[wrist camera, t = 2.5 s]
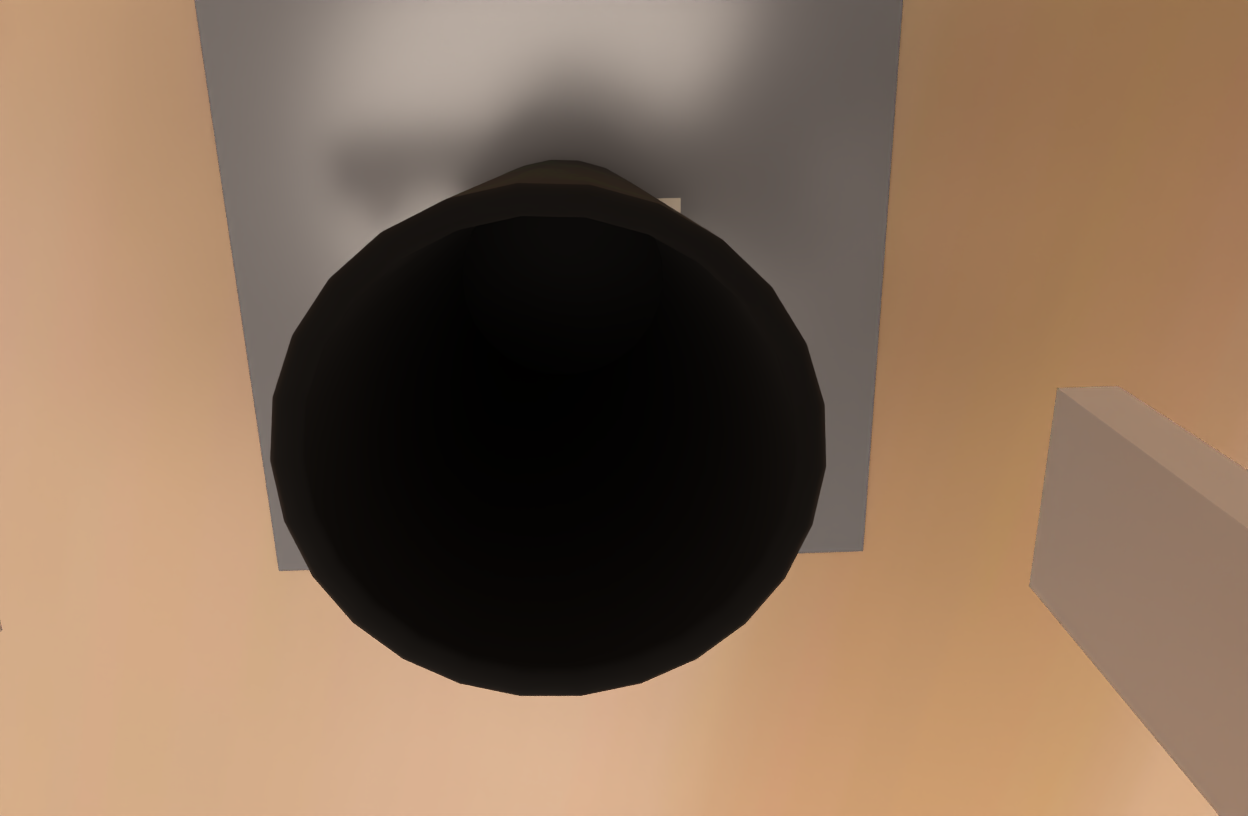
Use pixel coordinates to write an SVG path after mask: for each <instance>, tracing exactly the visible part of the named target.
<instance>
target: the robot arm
mask: <svg viewBox="0 0 1248 816" xmlns="http://www.w3.org/2000/svg"><path fill="white" fill-rule="evenodd" d="M1029 586H1030V588H1031V589H1032V590H1033V591H1034V592H1035V594H1036V595H1037V596H1038V597H1039V598H1040V600H1041V601H1042V602H1043V603H1044V604H1045V606H1046V607H1047V608H1048V609H1049V611H1050V612H1051V613H1052V614H1053V615H1054V617H1055V618H1056V619H1057V620H1058V621H1059V623H1060V624H1061V625H1062V626H1063V627H1064V629H1065V630H1066V631H1067V632H1068V633H1069V635H1070V636H1071V637H1072V638H1073V639H1074V641H1075V642H1076V643H1077V644H1078V646H1079V647H1080V648H1081V649H1082V650H1083V652H1084V653H1085V654H1086V655H1087V656H1088V658H1089V659H1090V660H1091V661H1092V662H1093V664H1094V665H1095V666H1096V667H1097V668H1098V670H1099V671H1100V672H1101V673H1102V675H1103V676H1104V677H1105V678H1106V679H1107V681H1108V682H1109V683H1110V684H1111V685H1112V687H1113V688H1114V689H1115V690H1116V691H1117V693H1118V694H1119V695H1120V696H1121V697H1122V699H1123V700H1124V701H1125V702H1126V703H1127V705H1128V706H1129V707H1130V708H1131V710H1132V711H1133V712H1134V713H1135V714H1136V716H1137V717H1138V718H1139V719H1140V720H1141V722H1142V723H1143V724H1144V725H1145V726H1146V728H1147V729H1148V730H1149V731H1150V732H1151V734H1152V735H1153V736H1154V737H1155V739H1156V740H1157V741H1158V742H1159V743H1160V745H1161V746H1162V747H1163V748H1164V749H1165V751H1166V752H1167V753H1168V754H1169V755H1170V757H1171V758H1172V759H1173V760H1174V761H1175V763H1176V764H1177V765H1178V766H1179V767H1180V769H1181V770H1182V771H1183V772H1184V774H1185V775H1186V776H1187V777H1188V778H1189V780H1190V781H1191V782H1192V783H1193V784H1194V786H1195V787H1196V788H1197V789H1198V790H1199V792H1200V793H1201V794H1202V795H1203V796H1204V798H1205V799H1206V800H1207V801H1208V803H1209V804H1210V805H1211V806H1212V807H1213V809H1214V810H1215V811H1216V812H1217V813H1218V815H1219V816H1248V470H1247V469H1245V468H1244V467H1242V466H1241V465H1239V464H1238V463H1236V462H1234V461H1233V460H1231V459H1230V458H1228V457H1227V456H1225V455H1224V454H1222V453H1221V452H1219V451H1218V450H1216V449H1215V448H1213V447H1211V446H1210V445H1208V444H1207V443H1205V442H1204V441H1202V440H1201V439H1199V438H1198V437H1196V436H1195V435H1193V434H1192V433H1190V432H1188V431H1187V430H1185V429H1184V428H1182V427H1181V426H1179V425H1178V424H1176V423H1175V422H1173V421H1172V420H1170V419H1169V418H1167V417H1166V416H1164V415H1162V414H1161V413H1159V412H1158V411H1156V410H1155V409H1153V408H1152V407H1150V406H1149V405H1147V404H1146V403H1144V402H1143V401H1141V400H1139V399H1138V398H1136V397H1135V396H1133V395H1132V394H1130V393H1129V392H1127V391H1126V390H1124V389H1123V388H1121V387H1120V386H1099V387H1069V388H1057V393H1056V400H1055V407H1054V414H1053V421H1052V428H1051V435H1050V443H1049V450H1048V457H1047V464H1046V471H1045V478H1044V485H1043V492H1042V499H1041V506H1040V513H1039V520H1038V528H1037V535H1036V542H1035V549H1034V556H1033V563H1032V570H1031V577H1030V584H1029ZM1 631H2V626H1V622H0V632H1Z"/></svg>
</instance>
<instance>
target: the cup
mask: <svg viewBox="0 0 1248 816" xmlns="http://www.w3.org/2000/svg"><path fill="white" fill-rule="evenodd" d="M270 462H271V467H272V471H273V475H274V480H275V484H276V488H277V493H278V497H279V502H280V506H281V510H282V515H283V519H284V522H285V524H286V526H287V528H288V530H289V532H290V534H291V536H292V538H293V540H294V541H295V543H296V545H297V547H298V549H299V551H300V553H301V555H302V557H303V559H304V561H305V563H306V565H307V567H308V568H309V570H310V572H311V574H312V576H313V577H314V578H315V580H316V581H317V582H318V583H319V584H320V585H321V586H322V588H323V589H324V590H325V591H326V592H327V593H328V594H329V596H330V597H331V598H332V599H333V600H334V601H335V602H336V604H337V605H338V606H339V607H340V608H341V609H342V610H343V612H344V613H345V614H346V615H347V616H348V617H349V619H350V620H351V621H352V622H353V623H354V624H356V625H357V626H358V627H360V628H361V629H363V630H364V631H365V632H367V633H368V634H370V635H371V636H372V637H374V638H375V639H376V640H378V641H379V642H381V643H382V644H383V645H385V646H386V647H388V648H389V649H390V650H392V651H393V652H394V653H396V654H397V655H399V656H400V657H401V658H403V659H405V660H407V661H409V662H412V663H414V664H416V665H419V666H421V667H423V668H425V669H428V670H430V671H432V672H435V673H437V674H439V675H442V676H444V677H446V678H448V679H451V680H453V681H455V682H458V683H460V684H465V685H470V686H475V687H480V688H485V689H489V690H494V691H499V692H504V693H509V694H514V695H519V696H582V695H587V694H592V693H597V692H602V691H606V690H611V689H616V688H621V687H626V686H630V685H635V684H640V683H643V682H645V681H647V680H650V679H652V678H654V677H657V676H659V675H661V674H663V673H666V672H668V671H670V670H673V669H675V668H677V667H679V666H682V665H684V664H686V663H689V662H691V661H693V660H695V659H697V658H699V657H700V656H701V655H703V654H704V653H705V652H707V651H708V650H710V649H711V648H712V647H714V646H715V645H717V644H718V643H719V642H721V641H722V640H723V639H725V638H726V637H728V636H729V635H730V634H732V633H733V632H734V631H736V630H737V629H739V628H740V627H741V626H743V625H744V624H745V623H746V622H747V621H748V620H749V619H750V618H751V616H752V615H753V614H754V613H755V612H756V611H757V610H758V608H759V607H760V606H761V605H762V604H763V603H764V602H765V600H766V599H767V598H768V597H769V596H770V595H771V594H772V592H773V591H774V590H775V589H776V588H777V587H778V586H779V584H780V583H781V582H782V581H783V580H784V579H785V577H786V575H787V573H788V571H789V569H790V567H791V565H792V563H793V562H794V560H795V558H796V556H797V554H798V552H799V550H800V548H801V546H802V544H803V542H804V540H805V538H806V537H807V535H808V533H809V531H810V529H811V527H812V525H813V521H814V516H815V512H816V508H817V504H818V499H819V495H820V491H821V487H822V482H823V478H824V474H825V470H826V434H825V404H824V400H823V397H822V394H821V390H820V387H819V383H818V380H817V377H816V373H815V370H814V366H813V363H812V360H811V356H810V353H809V350H808V346H807V343H806V342H805V340H804V338H803V337H802V335H801V333H800V332H799V330H798V328H797V327H796V325H795V324H794V322H793V320H792V319H791V317H790V315H789V314H788V312H787V310H786V309H785V307H784V305H783V304H782V302H781V301H780V299H779V297H778V296H777V294H776V292H775V291H774V289H773V287H772V286H771V285H770V284H769V283H767V282H766V281H765V280H764V279H763V278H762V277H761V276H760V275H759V274H758V273H757V272H756V271H755V270H754V269H753V268H752V267H751V266H750V265H749V264H748V263H747V262H746V261H745V260H744V259H743V258H741V257H740V256H739V255H738V254H737V253H736V252H735V251H734V250H733V249H732V248H731V247H730V246H729V245H728V244H727V243H726V242H725V241H724V240H723V239H721V238H720V237H718V236H716V235H715V234H713V233H712V232H710V231H708V230H707V229H705V228H703V227H702V226H700V225H699V224H697V223H695V222H694V221H692V220H691V219H689V218H687V217H686V216H684V215H683V214H681V213H679V212H678V211H676V210H675V209H673V208H671V207H670V206H668V205H666V204H665V203H663V202H662V201H660V200H658V199H657V198H655V197H654V196H652V195H650V194H649V193H647V192H646V191H644V190H642V189H641V188H639V187H638V186H636V185H634V184H633V183H631V182H629V181H628V180H626V179H624V178H622V177H621V176H619V175H617V174H615V173H614V172H612V171H610V170H608V169H607V168H604V167H600V166H597V165H593V164H589V163H586V162H582V161H579V160H547V161H543V162H538V163H534V164H529V165H525V166H522V167H519V168H517V169H515V170H512V171H510V172H508V173H505V174H503V175H501V176H498V177H496V178H494V179H491V180H489V181H487V182H484V183H482V184H480V185H477V186H475V187H473V188H470V189H468V190H466V191H464V192H461V193H459V194H457V195H454V196H452V197H450V198H447V199H445V200H443V201H441V202H439V203H437V204H435V205H433V206H431V207H429V208H427V209H425V210H423V211H421V212H419V213H417V214H416V215H414V216H412V217H410V218H408V219H406V220H404V221H402V222H400V223H398V224H396V225H394V226H392V227H390V228H388V229H386V230H384V231H382V232H381V233H379V234H378V235H377V236H376V237H375V238H374V239H373V240H372V241H370V242H369V243H368V244H367V245H366V246H365V247H364V248H363V249H362V250H360V251H359V252H358V253H357V254H356V255H355V256H354V257H353V258H351V259H350V260H349V261H348V262H347V263H346V264H345V265H344V266H342V267H341V268H340V269H339V270H338V271H337V272H336V273H335V274H334V275H332V276H331V277H330V278H329V279H328V281H327V282H326V284H325V285H324V287H323V288H322V290H321V292H320V293H319V295H318V296H317V298H316V299H315V301H314V302H313V304H312V305H311V307H310V308H309V310H308V312H307V313H306V315H305V316H304V318H303V319H302V321H301V322H300V324H299V325H298V327H297V328H296V330H295V332H294V333H293V335H292V337H291V340H290V343H289V347H288V350H287V353H286V356H285V359H284V362H283V366H282V369H281V372H280V375H279V378H278V381H277V384H276V388H275V391H274V394H273V397H272V423H271V449H270Z"/></svg>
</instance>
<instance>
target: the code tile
mask: <svg viewBox="0 0 1248 816" xmlns="http://www.w3.org/2000/svg"><path fill="white" fill-rule="evenodd" d="M902 6H903V0H195V7H196V14H197V21H198V27H199V34H200V41H201V48H202V54H203V61H204V68H205V75H206V82H207V88H208V95H209V102H210V109H211V115H212V122H213V129H214V136H215V142H216V149H217V156H218V163H219V169H220V176H221V183H222V190H223V196H224V203H225V210H226V217H227V223H228V230H229V237H230V244H231V250H232V257H233V264H234V271H235V277H236V284H237V291H238V298H239V304H240V311H241V318H242V325H243V331H244V338H245V345H246V352H247V359H248V365H249V372H250V379H251V386H252V392H253V399H254V406H255V413H256V419H257V426H258V433H259V440H260V446H261V453H262V460H263V467H264V473H265V480H266V487H267V494H268V500H269V507H270V514H271V521H272V527H273V534H274V541H275V548H276V554H277V561H278V568H279V571H292V570H309V568H308V567H307V565H306V563H305V561H304V559H303V557H302V555H301V553H300V551H299V549H298V547H297V545H296V543H295V541H294V540H293V538H292V536H291V534H290V532H289V530H288V528H287V526H286V524H285V522H284V519H283V515H282V510H281V506H280V502H279V497H278V493H277V488H276V484H275V480H274V475H273V471H272V467H271V462H270V449H271V423H272V397H273V394H274V391H275V388H276V384H277V381H278V378H279V375H280V372H281V369H282V366H283V362H284V359H285V356H286V353H287V350H288V347H289V343H290V340H291V337H292V335H293V333H294V332H295V330H296V328H297V327H298V325H299V324H300V322H301V321H302V319H303V318H304V316H305V315H306V313H307V312H308V310H309V308H310V307H311V305H312V304H313V302H314V301H315V299H316V298H317V296H318V295H319V293H320V292H321V290H322V288H323V287H324V285H325V284H326V282H327V281H328V279H329V278H330V277H331V276H332V275H334V274H335V273H336V272H337V271H338V270H339V269H340V268H341V267H342V266H344V265H345V264H346V263H347V262H348V261H349V260H350V259H351V258H353V257H354V256H355V255H356V254H357V253H358V252H359V251H360V250H362V249H363V248H364V247H365V246H366V245H367V244H368V243H369V242H370V241H372V240H373V239H374V238H375V237H376V236H377V235H378V234H379V233H381V232H382V231H384V230H386V229H388V228H390V227H392V226H394V225H396V224H398V223H400V222H402V221H404V220H406V219H408V218H410V217H412V216H414V215H416V214H417V213H419V212H421V211H423V210H425V209H427V208H429V207H431V206H433V205H435V204H437V203H439V202H441V201H443V200H445V199H447V198H450V197H452V196H454V195H457V194H459V193H461V192H464V191H466V190H468V189H470V188H473V187H475V186H477V185H480V184H482V183H484V182H487V181H489V180H491V179H494V178H496V177H498V176H501V175H503V174H505V173H508V172H510V171H512V170H515V169H517V168H519V167H522V166H525V165H529V164H534V163H538V162H543V161H547V160H579V161H582V162H586V163H589V164H593V165H597V166H600V167H604V168H607V169H608V170H610V171H612V172H614V173H615V174H617V175H619V176H621V177H622V178H624V179H626V180H628V181H629V182H631V183H633V184H634V185H636V186H638V187H639V188H641V189H642V190H644V191H646V192H647V193H649V194H650V195H652V196H654V197H655V198H657V199H658V200H660V201H662V202H663V203H665V204H666V205H668V206H670V207H671V208H673V209H675V210H676V211H678V212H679V213H681V214H683V215H684V216H686V217H687V218H689V219H691V220H692V221H694V222H695V223H697V224H699V225H700V226H702V227H703V228H705V229H707V230H708V231H710V232H712V233H713V234H715V235H716V236H718V237H720V238H721V239H723V240H724V241H725V242H726V243H727V244H728V245H729V246H730V247H731V248H732V249H733V250H734V251H735V252H736V253H737V254H738V255H739V256H740V257H741V258H743V259H744V260H745V261H746V262H747V263H748V264H749V265H750V266H751V267H752V268H753V269H754V270H755V271H756V272H757V273H758V274H759V275H760V276H761V277H762V278H763V279H764V280H765V281H766V282H767V283H769V284H770V285H771V286H772V287H773V289H774V291H775V292H776V294H777V296H778V297H779V299H780V301H781V302H782V304H783V305H784V307H785V309H786V310H787V312H788V314H789V315H790V317H791V319H792V320H793V322H794V324H795V325H796V327H797V328H798V330H799V332H800V333H801V335H802V337H803V338H804V340H805V342H806V343H807V346H808V350H809V353H810V356H811V360H812V363H813V366H814V370H815V373H816V377H817V380H818V383H819V387H820V390H821V394H822V397H823V400H824V404H825V434H826V470H825V474H824V478H823V482H822V487H821V491H820V495H819V499H818V504H817V508H816V512H815V516H814V521H813V525H812V527H811V529H810V531H809V533H808V535H807V537H806V538H805V540H804V542H803V544H802V546H801V548H800V550H799V552H798V553H822V552H851V551H863V544H864V530H865V517H866V503H867V489H868V475H869V461H870V448H871V434H872V420H873V406H874V392H875V379H876V365H877V351H878V337H879V324H880V310H881V296H882V282H883V268H884V255H885V241H886V227H887V213H888V199H889V186H890V172H891V158H892V144H893V130H894V117H895V103H896V89H897V75H898V61H899V48H900V34H901V20H902Z"/></svg>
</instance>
